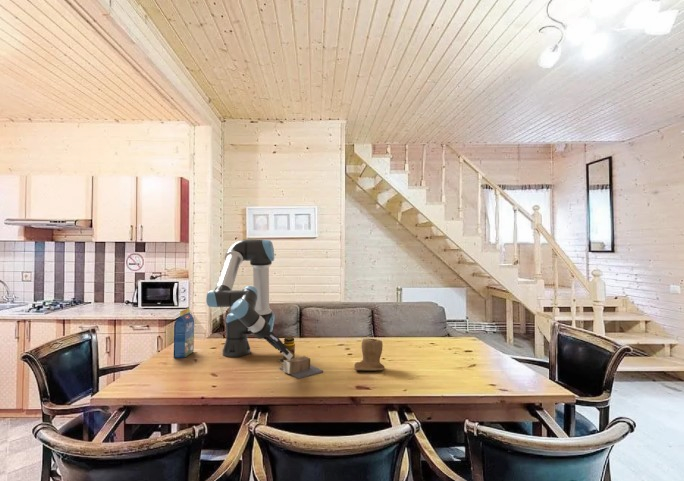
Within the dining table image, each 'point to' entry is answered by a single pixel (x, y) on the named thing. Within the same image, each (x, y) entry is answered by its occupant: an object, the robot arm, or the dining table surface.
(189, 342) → the blue food package
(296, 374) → the mat
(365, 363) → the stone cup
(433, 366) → the dining table surface
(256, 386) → the dining table surface
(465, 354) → the dining table surface
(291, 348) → the condiment
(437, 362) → the dining table surface
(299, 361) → the walnut block
